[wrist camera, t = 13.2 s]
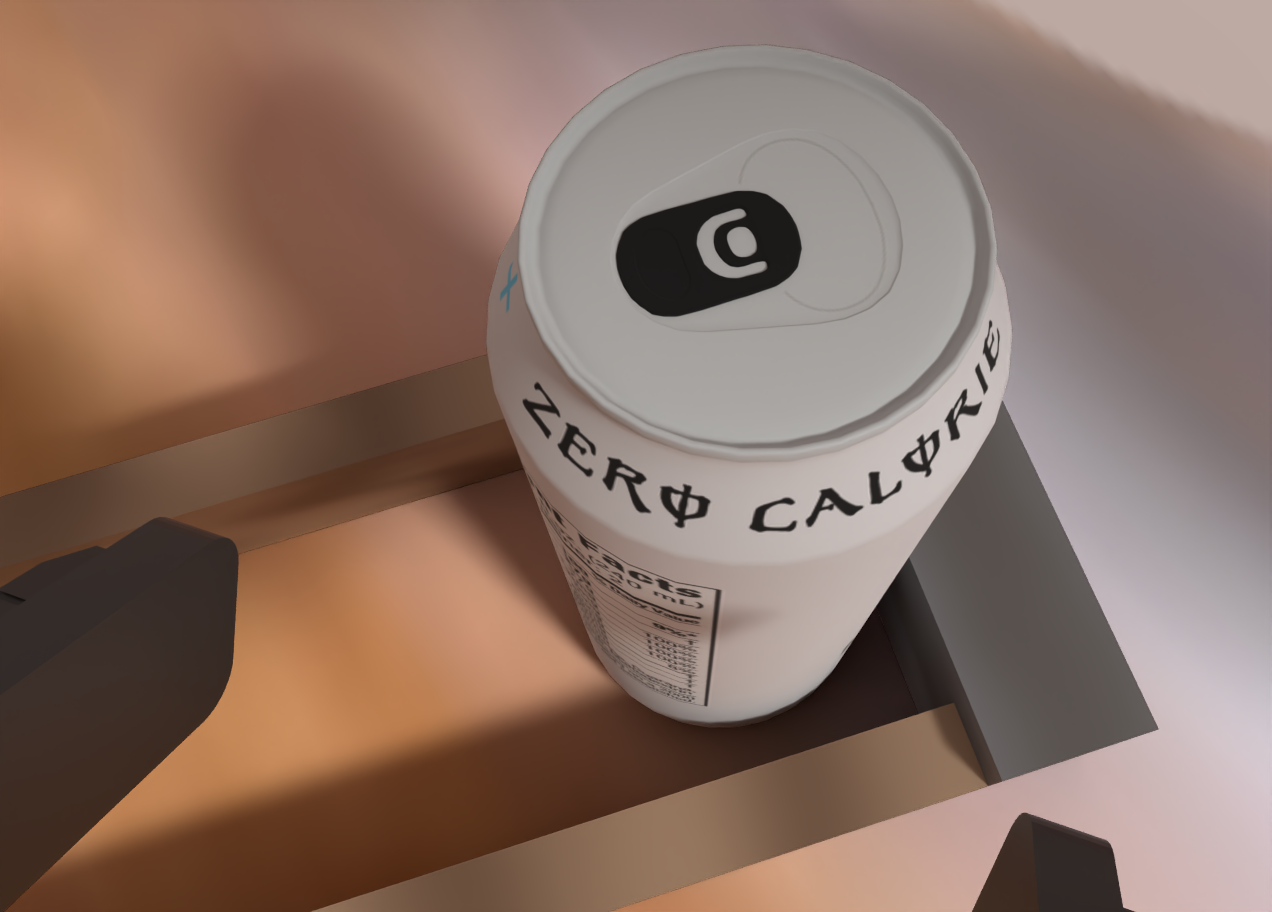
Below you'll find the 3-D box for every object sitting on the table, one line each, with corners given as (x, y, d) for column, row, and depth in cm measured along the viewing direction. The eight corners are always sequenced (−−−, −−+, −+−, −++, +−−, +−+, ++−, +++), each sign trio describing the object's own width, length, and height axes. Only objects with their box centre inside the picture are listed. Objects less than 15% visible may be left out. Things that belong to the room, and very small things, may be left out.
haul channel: (880, 299, 28) (910, 207, 24) (1084, 754, 23) (1159, 729, 20) (-121, 595, 26) (-256, 546, 22) (-92, 1143, 22) (-254, 1197, 18)
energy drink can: (891, 685, 24) (1170, 406, 10) (629, 771, 24) (548, 602, 10) (795, 443, 26) (917, -59, 12) (553, 518, 26) (398, 85, 12)
